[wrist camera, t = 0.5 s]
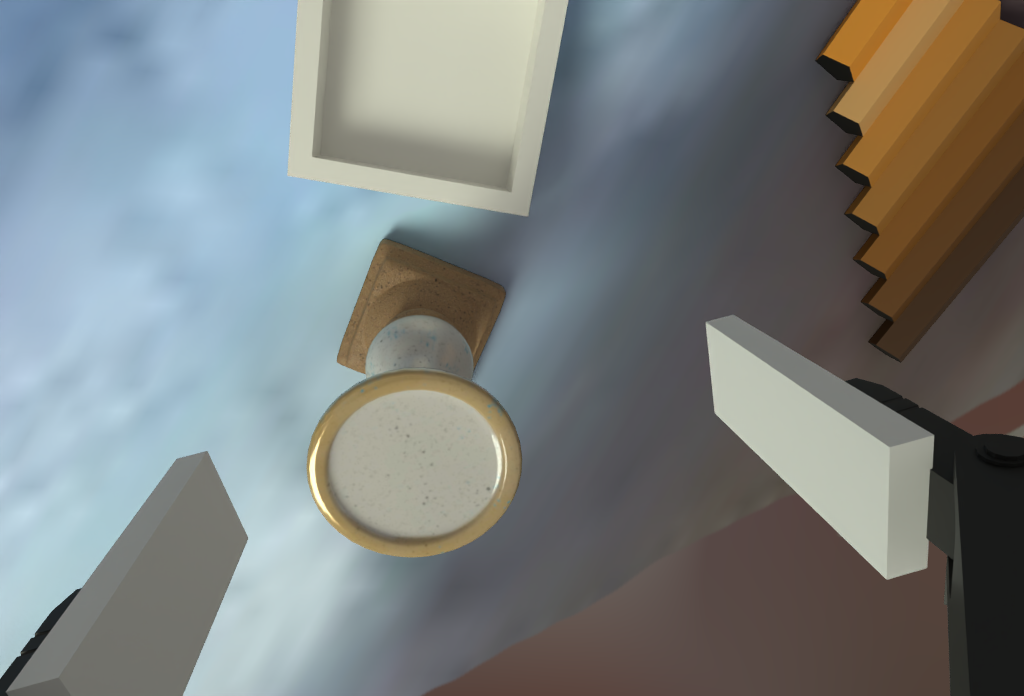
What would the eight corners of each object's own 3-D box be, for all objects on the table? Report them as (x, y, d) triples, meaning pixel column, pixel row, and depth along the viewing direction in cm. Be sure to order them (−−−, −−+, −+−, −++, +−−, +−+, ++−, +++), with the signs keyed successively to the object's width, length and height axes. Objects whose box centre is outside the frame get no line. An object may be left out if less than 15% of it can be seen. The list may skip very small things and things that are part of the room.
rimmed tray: (300, 171, 45) (287, 175, 41) (317, -90, 40) (305, -116, 36) (519, 209, 48) (527, 216, 44) (562, -29, 43) (577, -46, 39)
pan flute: (885, 354, 58) (1075, 124, 53) (911, 367, 55) (1116, 124, 50) (693, 219, 51) (891, -64, 46) (711, 225, 48) (925, -79, 43)
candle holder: (381, 235, 48) (342, 328, 26) (506, 286, 51) (568, 410, 28) (336, 355, 51) (265, 533, 28) (456, 397, 53) (478, 589, 31)
